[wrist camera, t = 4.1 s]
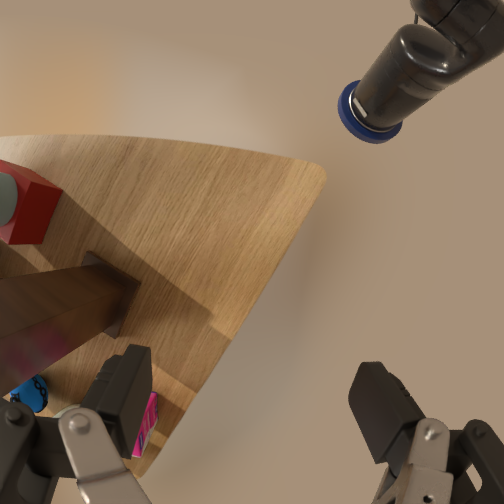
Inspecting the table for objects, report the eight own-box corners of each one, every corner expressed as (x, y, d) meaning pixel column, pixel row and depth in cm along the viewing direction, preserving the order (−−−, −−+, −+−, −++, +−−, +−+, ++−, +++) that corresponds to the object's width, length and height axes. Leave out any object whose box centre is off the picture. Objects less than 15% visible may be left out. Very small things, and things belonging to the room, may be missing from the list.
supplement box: (159, 419, 42) (141, 459, 31) (127, 412, 42) (103, 449, 31) (159, 391, 42) (137, 430, 31) (125, 384, 42) (97, 419, 31)
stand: (90, 250, 41) (-88, 264, 9) (141, 282, 42) (-29, 353, 10) (70, 304, 41) (-86, 365, 9) (118, 337, 42) (-23, 447, 10)
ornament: (19, 363, 41) (-11, 380, 31) (46, 362, 41) (15, 381, 32) (35, 401, 42) (8, 421, 32) (63, 402, 42) (36, 426, 32)
